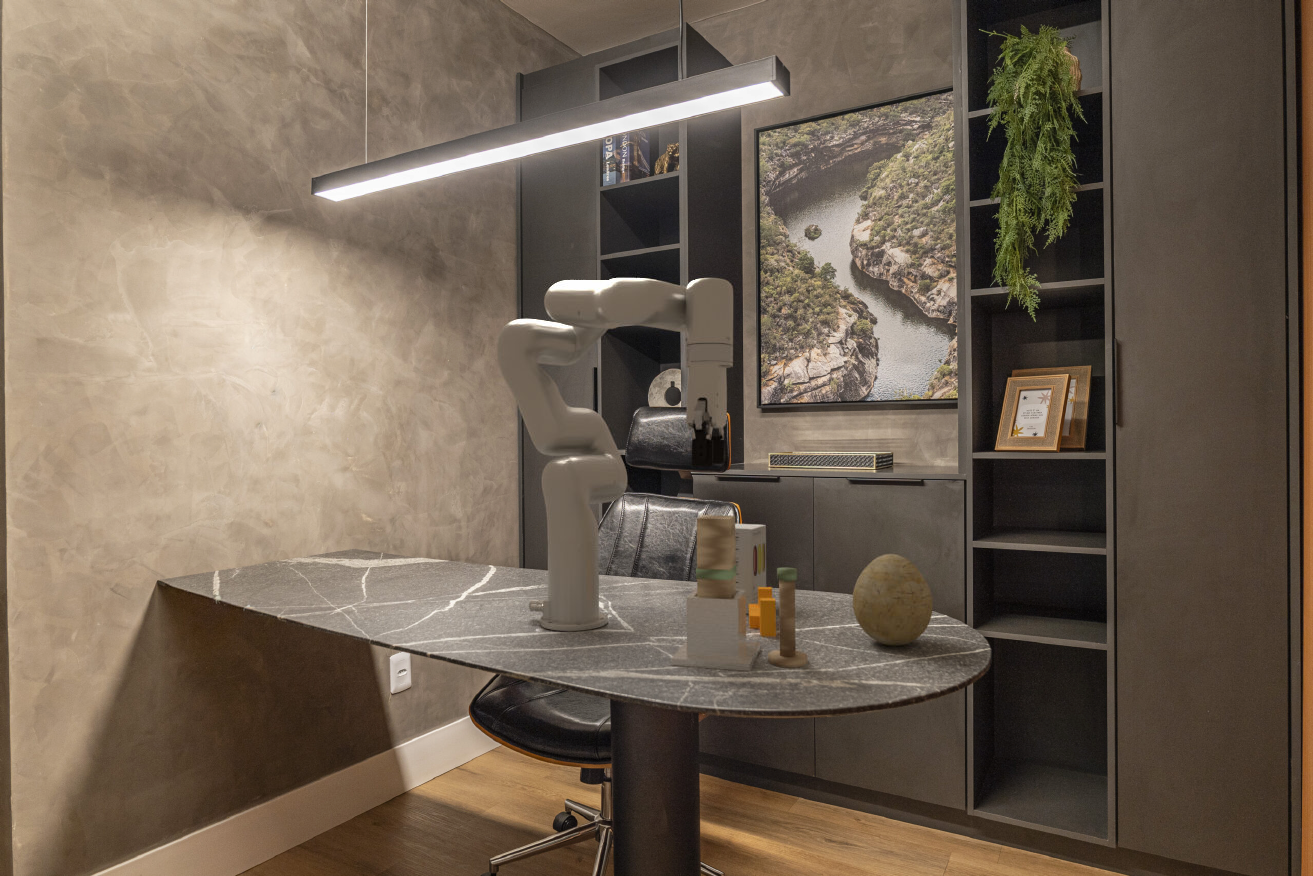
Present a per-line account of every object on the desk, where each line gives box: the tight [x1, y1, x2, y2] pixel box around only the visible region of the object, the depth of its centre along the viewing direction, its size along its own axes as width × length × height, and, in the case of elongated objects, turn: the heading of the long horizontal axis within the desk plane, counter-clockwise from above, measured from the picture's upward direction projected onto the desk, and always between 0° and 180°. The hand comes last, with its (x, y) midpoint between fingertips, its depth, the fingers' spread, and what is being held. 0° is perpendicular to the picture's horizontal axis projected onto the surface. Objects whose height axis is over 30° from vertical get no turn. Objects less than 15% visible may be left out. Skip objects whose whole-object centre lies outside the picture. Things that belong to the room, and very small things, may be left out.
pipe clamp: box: [748, 586, 777, 638], centre depth 137 cm, size 12×4×6 cm, turn 175°
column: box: [695, 514, 737, 598], centre depth 118 cm, size 6×6×15 cm
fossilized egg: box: [852, 553, 934, 647], centre depth 125 cm, size 13×13×15 cm
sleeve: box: [670, 587, 761, 672], centre depth 118 cm, size 12×12×10 cm
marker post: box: [767, 567, 809, 669], centre depth 115 cm, size 6×6×14 cm
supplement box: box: [735, 523, 767, 615], centre depth 153 cm, size 10×9×17 cm
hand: (708, 464), depth 120 cm, fingers open, 9 cm apart
